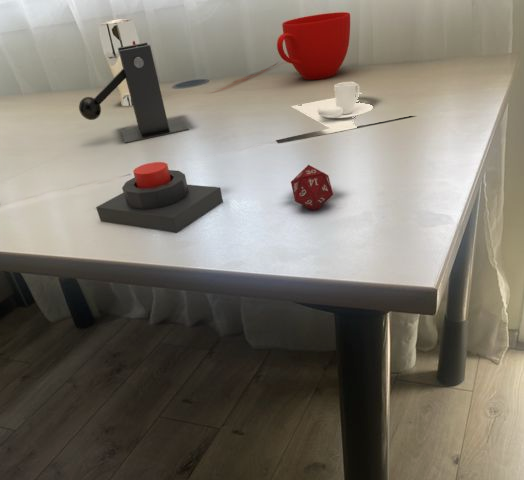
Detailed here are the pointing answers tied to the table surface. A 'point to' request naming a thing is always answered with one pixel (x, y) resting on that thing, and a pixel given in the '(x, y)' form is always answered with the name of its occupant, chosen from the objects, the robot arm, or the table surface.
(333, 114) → the teacup and saucer
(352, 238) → the table surface
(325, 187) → the dice
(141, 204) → the grey button base
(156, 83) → the switch bracket
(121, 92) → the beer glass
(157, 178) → the stop button
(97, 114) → the switch lever
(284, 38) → the ceramic cup
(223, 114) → the table surface
